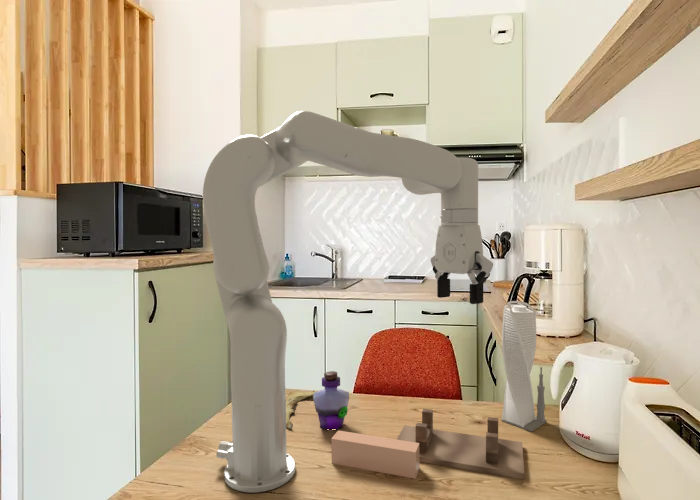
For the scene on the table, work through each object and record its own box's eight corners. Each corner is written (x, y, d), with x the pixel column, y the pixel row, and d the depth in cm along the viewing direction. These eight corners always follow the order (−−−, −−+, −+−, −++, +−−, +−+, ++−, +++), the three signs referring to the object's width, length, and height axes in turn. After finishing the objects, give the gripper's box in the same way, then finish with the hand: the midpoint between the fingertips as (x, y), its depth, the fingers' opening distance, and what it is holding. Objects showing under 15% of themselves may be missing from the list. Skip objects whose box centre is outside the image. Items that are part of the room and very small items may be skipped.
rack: (390, 456, 84) (390, 426, 84) (404, 429, 95) (404, 402, 95) (524, 479, 76) (524, 445, 76) (522, 446, 87) (522, 417, 87)
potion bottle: (342, 436, 92) (341, 381, 92) (305, 430, 95) (305, 376, 95) (356, 420, 101) (355, 368, 100) (321, 414, 104) (321, 365, 103)
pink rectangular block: (331, 464, 82) (331, 438, 82) (338, 455, 85) (338, 430, 85) (415, 479, 77) (415, 452, 76) (419, 469, 80) (419, 443, 80)
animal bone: (290, 389, 118) (326, 386, 116) (292, 397, 118) (327, 394, 116) (262, 427, 97) (305, 424, 95) (264, 437, 97) (306, 434, 95)
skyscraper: (528, 434, 93) (529, 303, 91) (494, 421, 99) (494, 299, 98) (546, 422, 98) (547, 299, 97) (512, 411, 104) (513, 295, 103)
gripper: (419, 219, 97) (419, 296, 97) (477, 217, 81) (476, 308, 82) (445, 219, 100) (445, 293, 101) (505, 217, 85) (504, 304, 86)
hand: (459, 300), depth 92 cm, fingers open, 9 cm apart
